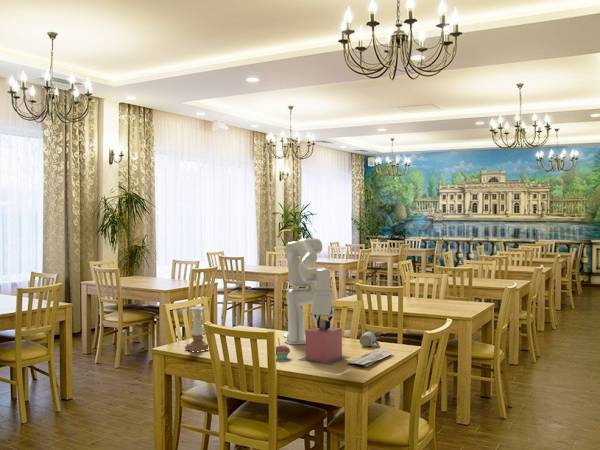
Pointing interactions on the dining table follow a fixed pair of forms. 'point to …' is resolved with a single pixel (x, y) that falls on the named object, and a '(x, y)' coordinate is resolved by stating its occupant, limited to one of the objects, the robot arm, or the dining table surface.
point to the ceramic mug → (368, 340)
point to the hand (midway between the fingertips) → (323, 327)
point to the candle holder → (197, 331)
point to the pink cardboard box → (323, 343)
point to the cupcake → (282, 351)
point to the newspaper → (371, 357)
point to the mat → (324, 362)
